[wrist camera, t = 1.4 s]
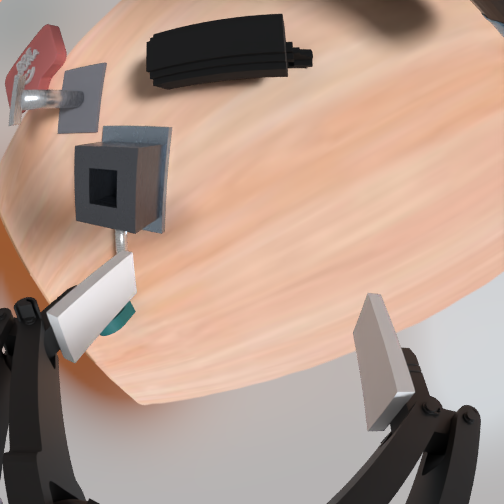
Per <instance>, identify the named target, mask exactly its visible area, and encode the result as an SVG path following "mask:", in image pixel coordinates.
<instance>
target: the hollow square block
mask: <svg viewBox="0 0 504 504" xmlns="http://www.w3.org/2000/svg"><path fill="white" fill-rule="evenodd" d="M171 134H172V127H155V126H103V138H102V142H97V143H90V144H84V145H78V146H75V170H74V175H75V208H76V221H80V222H84V223H89V224H93V225H98V226H103V227H107V228H112V229H115V244H116V254H118V253H119V252H120V251H122V250H123V251H128V239H127V232H130V233H135V234H136V233H137V232H139V231H140V230H146V231H151V232H156V233H161V234H162V233H163V232H164V231H165V207H166V190H167V176H168V164H169V153H170V143H171Z"/></svg>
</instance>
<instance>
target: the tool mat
mask: <svg viewBox="0 0 504 504" xmlns="http://www.w3.org/2000/svg"><path fill="white" fill-rule="evenodd" d="M106 65H107V63H100V64H94V65H89V66H85V67H80V68H76V69H72V70H67V71H65V74H64V80H63V87H62V90H73V91H82V92H83V93H84V102H83V104H82V105H81V106H80V107H78V108H60V111H59V123H58V134H60V133H82V132H98V122H99V112H100V104H101V96H102V89H103V82H104V76H105V70H106Z"/></svg>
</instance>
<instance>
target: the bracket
mask: <svg viewBox="0 0 504 504" xmlns="http://www.w3.org/2000/svg"><path fill="white" fill-rule="evenodd" d="M135 312H136V311H135V310H134V308H133V306H132V304H131V302H130V301H129V302H128V303H127V304H126V305H125V306H124V307H123V308H122V309H121V311H120V312H119V313H118V314H117V315H116V316H115V317H114V318H113V320H112V321H111V322H110V323H109V324H108V325H107V326H106V327H105V329H104V330H103V331H102V332H101V333H100V335H101V336H107V335H110V334H113V333H115V332H116V331H118V330H119V329H121V328H122V327H123V326H124V325H125V324H126V323H127V321H128V320H129V319H130V318H131V316H132V315H133V314H134V313H135Z"/></svg>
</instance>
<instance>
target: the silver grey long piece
mask: <svg viewBox="0 0 504 504" xmlns="http://www.w3.org/2000/svg"><path fill="white" fill-rule="evenodd" d="M25 82H26V76H17V77H15V78H14V83H13V90H12V98H11V107H10V118H9V126H11V125H17V124H21V115H22V110H31V109H46V108H78V107H80V106H81V105H82V104H83V102H84V93H83V92H82V91H73V90H24V88H25Z"/></svg>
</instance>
